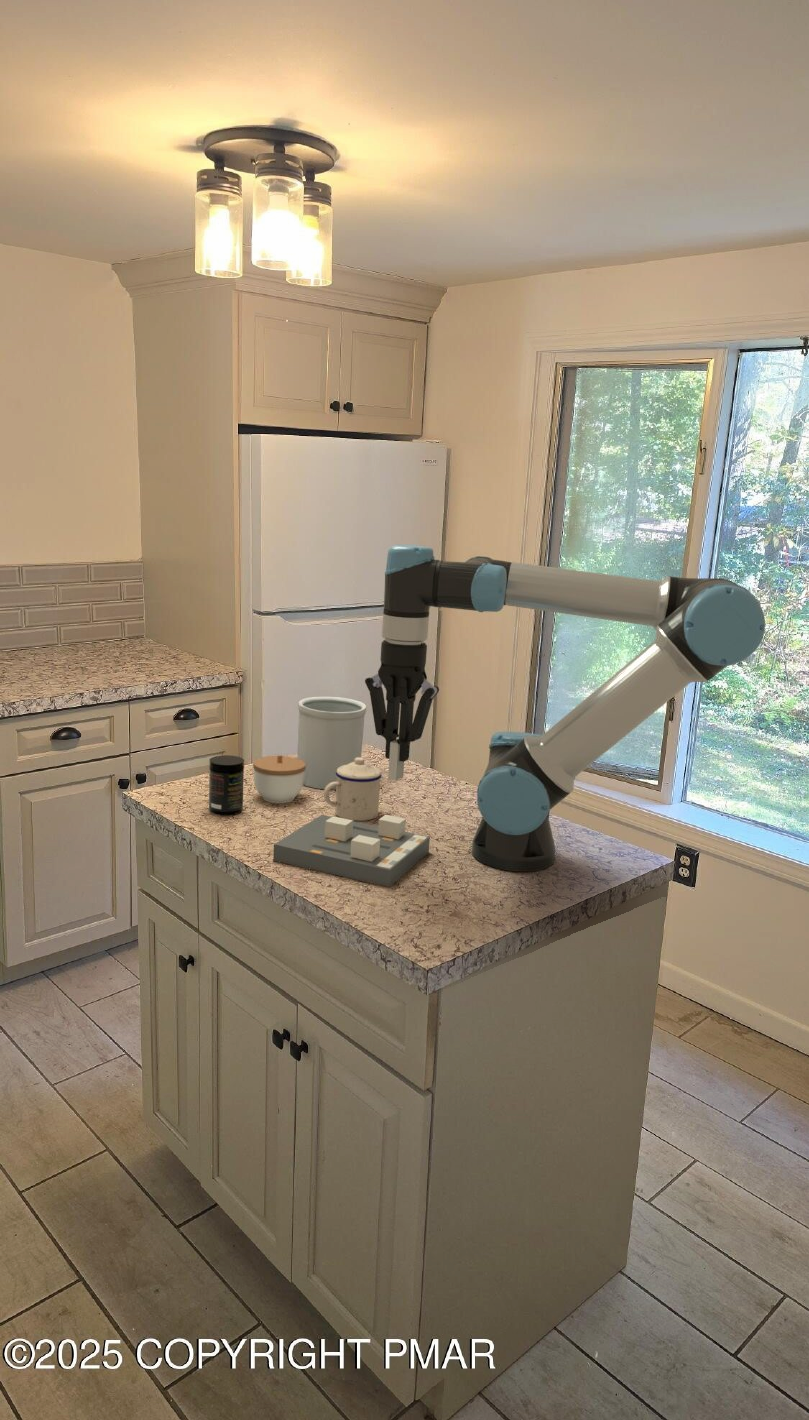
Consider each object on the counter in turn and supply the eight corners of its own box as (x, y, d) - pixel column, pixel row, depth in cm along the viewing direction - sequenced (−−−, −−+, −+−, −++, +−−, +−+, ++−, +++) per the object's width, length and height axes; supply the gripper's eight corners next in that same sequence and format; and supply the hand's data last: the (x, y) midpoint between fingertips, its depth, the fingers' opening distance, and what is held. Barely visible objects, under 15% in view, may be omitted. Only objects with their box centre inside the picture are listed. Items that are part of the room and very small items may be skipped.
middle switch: (352, 836, 175) (353, 820, 174) (344, 841, 172) (345, 825, 171) (332, 832, 176) (333, 816, 175) (324, 837, 173) (325, 821, 173)
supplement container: (249, 808, 195) (250, 758, 192) (232, 818, 189) (233, 767, 186) (219, 803, 197) (220, 753, 195) (201, 812, 191) (202, 761, 189)
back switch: (404, 834, 177) (405, 818, 176) (398, 839, 174) (399, 823, 174) (384, 830, 179) (385, 814, 178) (378, 835, 176) (378, 819, 175)
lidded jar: (242, 795, 202) (243, 752, 200) (286, 787, 209) (287, 745, 207) (270, 810, 195) (271, 765, 192) (314, 802, 201) (316, 758, 199)
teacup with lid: (365, 804, 202) (368, 750, 199) (387, 818, 194) (391, 762, 192) (313, 811, 195) (315, 755, 193) (334, 826, 188) (336, 768, 185)
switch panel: (428, 852, 178) (429, 836, 177) (389, 887, 161) (390, 869, 161) (321, 829, 186) (322, 814, 185) (273, 860, 169) (273, 843, 169)
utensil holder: (371, 776, 221) (375, 701, 217) (348, 795, 207) (352, 714, 203) (311, 767, 225) (314, 693, 221) (284, 784, 211) (287, 706, 207)
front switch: (379, 856, 166) (380, 839, 166) (371, 861, 163) (372, 844, 163) (358, 851, 168) (358, 834, 167) (350, 857, 165) (351, 840, 164)
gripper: (450, 643, 160) (439, 780, 166) (380, 633, 166) (372, 766, 171) (430, 648, 154) (420, 791, 159) (358, 638, 159) (351, 776, 165)
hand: (395, 778), depth 165 cm, fingers closed
